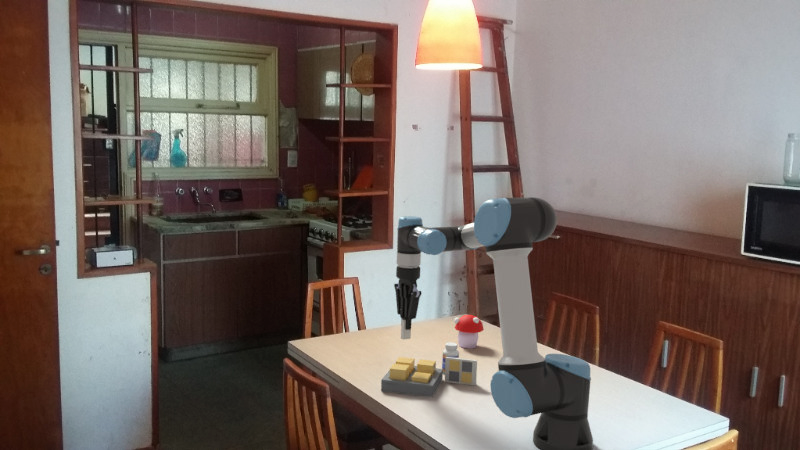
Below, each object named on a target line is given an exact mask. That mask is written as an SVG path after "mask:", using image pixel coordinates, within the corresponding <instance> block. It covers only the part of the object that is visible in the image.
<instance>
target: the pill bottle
mask: <svg viewBox="0 0 800 450" xmlns="http://www.w3.org/2000/svg"><path fill="white" fill-rule="evenodd" d="M444 345H445V346H444V349H443V351H442V360H441V361H442V362H441V369H443V374H444V375H445V360H446V357H453V358H460V352H459V350H458V344H457V343H455V342H446V343H445V344H444Z"/></svg>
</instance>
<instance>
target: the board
mask: <svg viewBox="0 0 800 450" xmlns="http://www.w3.org/2000/svg"><path fill="white" fill-rule="evenodd" d="M415 372H417V365H414V370H413V372H412V373H409V377H408V378H407V380H406V381H405V380H397V379H389V378H390V369H389V370H388V371H387V372H386V373H385V374H384V376H383V377H382V378H381V385H380V386H381V388H380V391H381V392H388V393H397V394H402V395H409V396H410V395H411V396H418V397H419V396H420V397H427V398H433V396H434V395H435V393H436V392H437V390H438V388H439V387H440V385H441V383H442V381H443V374H444V373H443V369H442V368H437V367H436V371H435V374H434V375H433V376H431V380H430V381H429V383H422V382H414V381H412V376H413V375H414V373H415Z"/></svg>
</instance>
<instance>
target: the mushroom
mask: <svg viewBox="0 0 800 450" xmlns="http://www.w3.org/2000/svg"><path fill="white" fill-rule="evenodd" d="M453 321H454V323H455V326H454V329H455V330H456V331H458V333H457V340H458V342H457V343H458V346H459V347H460V348H463V349H475V348H477V346H478V340H479V333H481V332H483V331H484V330H485V329H484V325H483V321H482V320H481V319H480V318H479V317H478V316H477V315H473V314H464V315H462V316H460V317H455V318H454V320H453Z"/></svg>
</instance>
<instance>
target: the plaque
mask: <svg viewBox="0 0 800 450" xmlns="http://www.w3.org/2000/svg"><path fill="white" fill-rule="evenodd" d="M477 371H478V359H470V358H461V357H459V358H453V357H446V360H445V374H444V383H451V384H452V383H453V384H460V385H467V386H468V385H469V386H476V385H477V376H478V375H477Z"/></svg>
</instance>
